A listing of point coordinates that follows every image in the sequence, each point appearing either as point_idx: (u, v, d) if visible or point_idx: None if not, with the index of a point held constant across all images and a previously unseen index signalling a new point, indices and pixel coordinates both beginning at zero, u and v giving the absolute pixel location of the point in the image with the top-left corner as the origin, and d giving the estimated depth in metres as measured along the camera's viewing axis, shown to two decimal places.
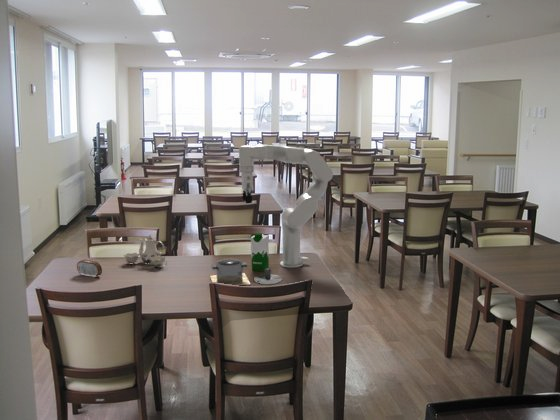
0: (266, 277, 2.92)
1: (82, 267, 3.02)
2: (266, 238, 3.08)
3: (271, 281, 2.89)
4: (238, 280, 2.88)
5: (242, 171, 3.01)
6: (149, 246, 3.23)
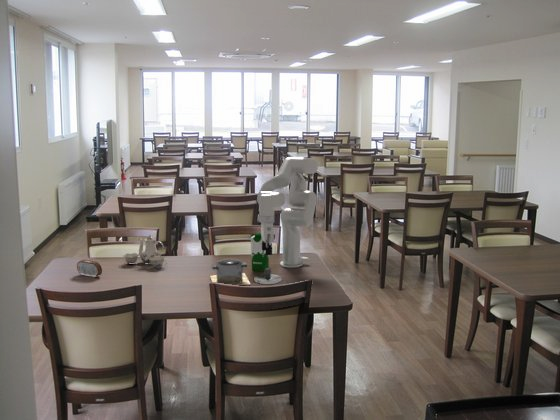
0: (266, 277, 2.92)
1: (82, 267, 3.02)
2: None
3: (271, 280, 2.89)
4: (238, 280, 2.88)
5: (262, 221, 2.84)
6: (149, 246, 3.22)
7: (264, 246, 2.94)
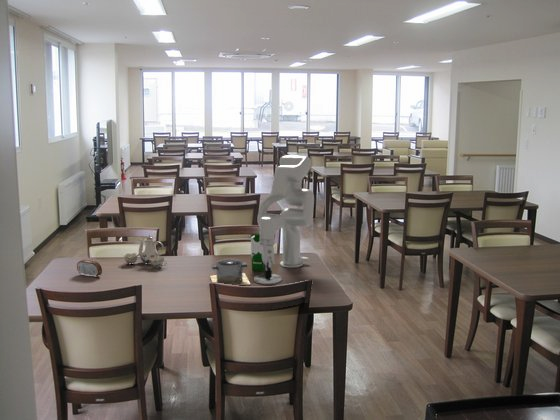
0: None
1: (83, 267, 3.02)
2: None
3: (271, 280, 2.89)
4: (238, 280, 2.88)
5: (263, 244, 2.87)
6: (149, 246, 3.22)
7: None
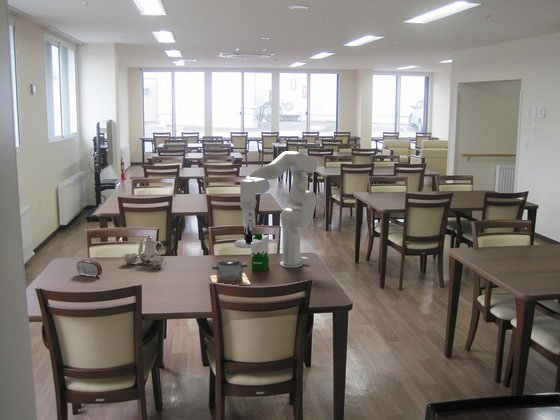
0: None
1: (82, 267, 3.02)
2: (266, 238, 3.08)
3: (251, 244, 2.84)
4: (238, 280, 2.88)
5: (243, 207, 2.82)
6: (148, 246, 3.22)
7: None
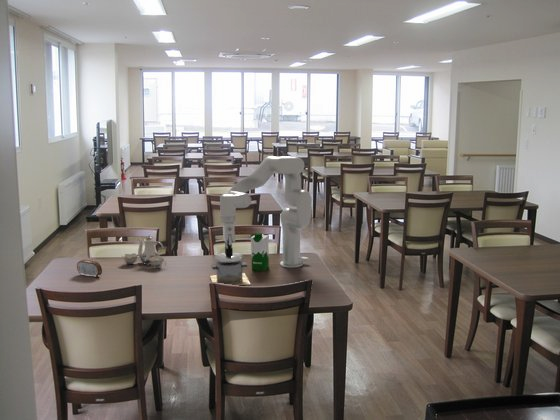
0: None
1: (82, 267, 3.02)
2: (266, 238, 3.08)
3: (231, 258, 2.85)
4: (238, 280, 2.88)
5: (223, 221, 2.83)
6: (148, 246, 3.22)
7: None
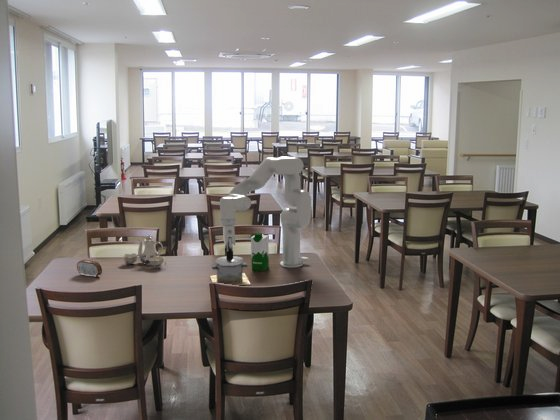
0: None
1: (82, 267, 3.02)
2: (266, 238, 3.08)
3: (232, 262, 2.86)
4: (238, 280, 2.88)
5: (223, 224, 2.83)
6: (148, 246, 3.21)
7: None
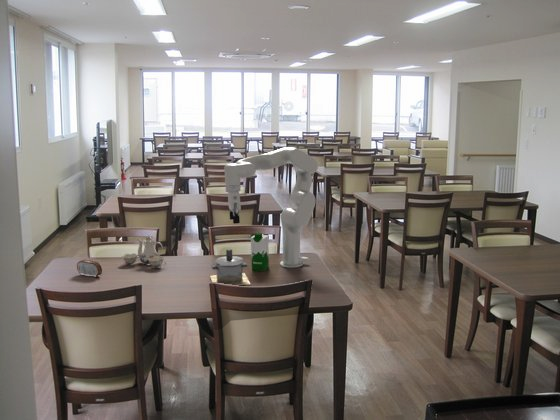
0: (227, 258, 2.89)
1: (83, 267, 3.02)
2: (266, 238, 3.08)
3: (232, 262, 2.86)
4: (238, 280, 2.88)
5: (228, 190, 2.89)
6: (148, 246, 3.21)
7: (232, 215, 2.99)
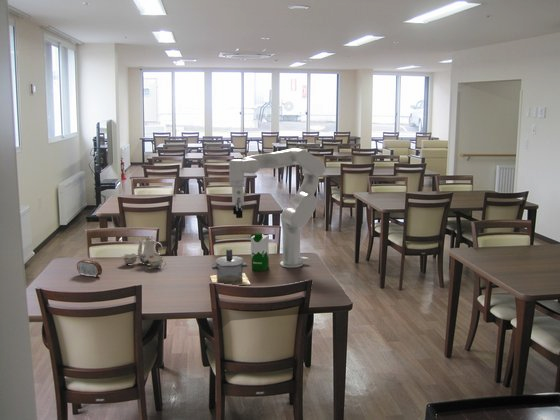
0: (227, 258, 2.89)
1: (82, 267, 3.02)
2: (266, 238, 3.08)
3: (232, 262, 2.86)
4: (238, 280, 2.88)
5: (232, 185, 2.95)
6: (148, 247, 3.21)
7: (235, 210, 3.05)
